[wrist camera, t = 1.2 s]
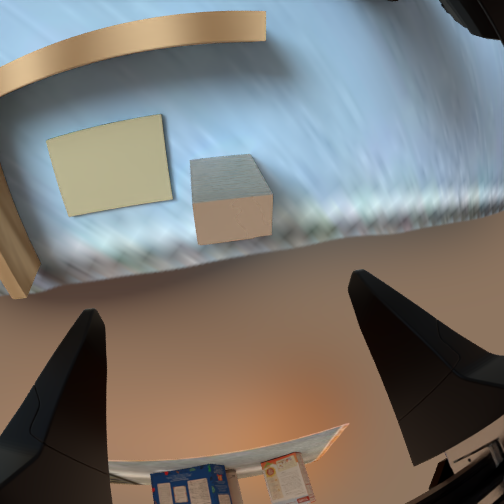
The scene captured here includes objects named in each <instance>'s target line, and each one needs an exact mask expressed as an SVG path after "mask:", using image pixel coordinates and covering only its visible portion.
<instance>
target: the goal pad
mask: <svg viewBox="0 0 504 504" xmlns="http://www.w3.org/2000/svg"><path fill="white" fill-rule="evenodd" d="M46 143H47V147H48V151H49V155H50V158H51V162H52V166H53V169H54V173H55V176H56V179H57V183H58V186H59V189H60V192H61V195H62V198H63V201H64V204H65V207H66V210H67V213H68V216H69V217H71V216H76V215H81V214H87V213H92V212H97V211H103V210H109V209H114V208H120V207H126V206H132V205H138V204H145V203H151V202H158V201H165V200H172V199H173V197H172V190H171V184H170V177H169V170H168V163H167V156H166V148H165V141H164V133H163V124H162V115H161V114H157V115H151V116H145V117H139V118H134V119H128V120H123V121H118V122H113V123H109V124H104V125H100V126H96V127H91V128H87V129H83V130H79V131H76V132H72V133H68V134H65V135H61V136H58V137H54V138H51V139H48V140H47V141H46Z"/></svg>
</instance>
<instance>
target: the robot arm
mask: <svg viewBox="0 0 504 504" xmlns="http://www.w3.org/2000/svg"><path fill="white" fill-rule="evenodd" d="M388 1H392V2H393V1H398V0H388ZM439 1H440V2H441V3H442V4H441V6H442V7H443V8H444V9H445V11H446V12H447V13H449V14H451V16H452V17H453V19H454V20H455V21H456V22H458V23H459V24H461V25H462V26H463V27H465V28H467V29H468V30H469V32H470V33H471V34H472V35H476V36H479V37H482V38H486V39H493V40H501V42H502V44H503V46H504V0H439ZM348 293H349V296H350V299H351V302H352V305H353V308H354V310H355V314H356V317H357V320H358V323H359V326H360V329H361V332H362V334H363V336H364V339H365V341H366V343H367V345H368V347H369V350H370V352H371V355H372V357H373V360H374V362H375V364H376V367H377V369H378V371H379V374H380V376H381V379H382V381H383V384H384V386H385V389H386V391H387V394H388V397H389V399H390V401H391V404H392V407H393V409H394V412H395V415H396V418H397V420H398V423H399V426H400V429H401V431H402V434H403V437H404V440H405V443H406V446H407V448H408V451H409V454H410V457H411V460H412V463H413V465H414V466H416V465H419V464H421V463H423V462H425V461H427V460H429V459H431V458H433V457H435V456H437V455H439V454H441V453H443V452H445V454H446V457H447V458H446V459H444V460H442V461H441V462H439V463H438V465H437V468H436V471H435V474H434V476H433V479H432V481H431V484H430V486H429V491H427V492H425V493H424V494H422V495H420V496H418V497H417V498H415V499H413V500H411V501H410V502H407V503H405V504H504V356H499V355H495V354H492V353H489V352H487V351H486V350H484V349H482V348H481V347H479V346H477V345H476V344H474V343H472V342H471V341H469V340H467V339H466V338H464V337H463V336H461V335H460V334H458V333H456V332H455V331H453V330H452V329H450V328H449V327H448V326H446V325H445V324H443V323H442V322H440V321H439V320H437V319H436V318H435V317H433V316H432V315H430V314H429V313H428V312H426V311H425V310H423V309H422V308H420V307H419V306H418V305H416V304H415V303H413V302H412V301H410V300H409V299H407V298H406V297H404V296H403V295H402V294H400V293H399V292H397V291H396V290H394V289H393V288H391V287H390V286H388V285H387V284H385V283H384V282H382V281H381V280H379V279H378V278H376V277H375V276H373V275H372V274H370V273H369V272H367V271H365V270H364V269H361V270H356V271H353V273H352V275H351V279H350V282H349V286H348ZM106 383H107V358H106V333H105V325H104V322H103V321H102V319H101V317H100V315H99V313H98V311H97V310H96V309H94V308H92V309H85V310H84V311H83V312H82V314H81V315H80V316H79V318H78V319H77V320H76V322H75V323H74V325H73V326H72V327H71V329H70V330H69V332H68V333H67V335H66V336H65V338H64V339H63V341H62V342H61V343H60V345H59V346H58V348H57V349H56V351H55V352H54V354H53V355H52V357H51V358H50V360H49V361H48V363H47V365H46V366H45V368H44V369H43V371H42V372H41V374H40V376H39V377H38V379H37V380H36V382H35V385H33V387H32V388H31V390H30V392H29V393H28V395H27V397H26V398H25V400H24V402H23V403H22V405H21V406H20V408H19V409H18V411H17V412H16V414H15V415H14V417H13V418H12V419H11V421H10V422H9V424H8V425H7V427H6V428H5V430H4V431H3V433H2V434H1V436H0V504H112V497H111V489H110V478H109V468H108V454H107V431H106Z"/></svg>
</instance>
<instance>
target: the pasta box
mask: <svg viewBox="0 0 504 504" xmlns="http://www.w3.org/2000/svg"><path fill="white" fill-rule="evenodd" d="M150 475H151V484H152V491H153V499H154V504H232V500H231V495H230V491H229V486H228V481H227V477H226V472H225V467H224V465H215V464H207V465H202V466H197V467H192V468H186V469H181V470H175V471H168V472H161V473H153V474H150Z"/></svg>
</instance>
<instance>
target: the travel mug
mask: <svg viewBox="0 0 504 504" xmlns="http://www.w3.org/2000/svg"><path fill="white" fill-rule="evenodd" d="M225 472H226V477H227V481H228V486H229V491H230V495H231V500H232V504H243V500H242V497H241V492H240V487H239V483H238V478H237V474H236V470H225Z"/></svg>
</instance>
